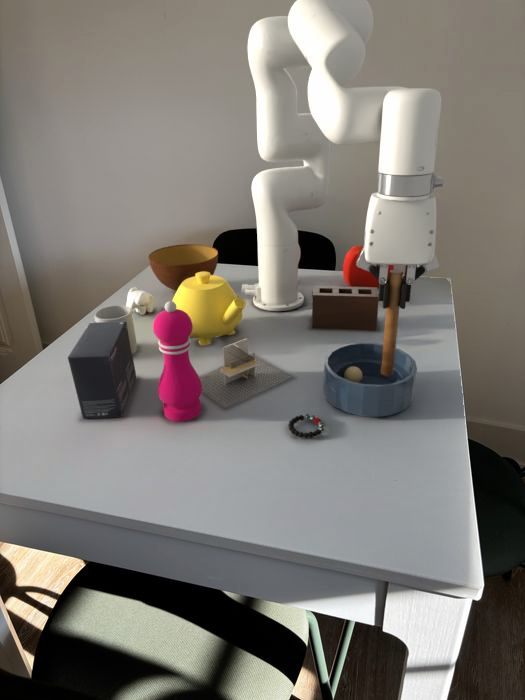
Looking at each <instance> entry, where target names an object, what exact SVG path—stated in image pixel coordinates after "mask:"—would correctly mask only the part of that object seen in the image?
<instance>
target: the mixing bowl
mask: <svg viewBox="0 0 525 700" xmlns="http://www.w3.org/2000/svg"><path fill="white" fill-rule="evenodd" d="M382 354H383V343H378V342H366V341H365V342H364V341H363V342H362V341H361V342H352V343H346V344H343V345H339V346H337V347H334V349H331V350H329V351H328V353H327V354H326V356H325V357H324V364H323V365H324V367H323V371H324V372H323V395H324V396H325V398H326V400H327V402H329V403H330V404H332V405H333V406H334V407H335V408H337V409H339V410H341V411H344V412H346V413H348V414H353V415H356V416H361V417H375V418H379V417H386V416H387V417H388V416H393V415H395V414H398V413H400V412H403V411H404V410H406V409H407V408H408V407H409V406H411V404H412V401H413V399H414V397H415V395H414V394H415V390H416V389H415V388H416V381H417V373H418V372H417V371H418V366H417V363H416V360H415V359H414V358H413V357H412V356H411V355H410V354H409V353H408V352H405V351H403V350H402V349H400V348H397V347H396V348H395V358H394V369H393V375H391V376H384V375H382V374H381V365H382ZM352 366H354V367H358V368H359V369H360V370H361V371H362V375H363V376H362V380H361V381H360V382H359V383H357V382H352V381H349V380H347V379H345V378H344V373H345V371H346V369H348V368H349V367H352Z"/></svg>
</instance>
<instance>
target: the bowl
mask: <svg viewBox="0 0 525 700" xmlns="http://www.w3.org/2000/svg"><path fill="white" fill-rule="evenodd" d="M148 262H149V265H150V269H151V271H152V272H153V274H154V276H155V277H156V278H157V280H158V281H159V283H161V284H162V285H163V286H165V287H166V288H168V289H170V290H173V291H174V292H175V293H176V292H177V290H178V288H179V286H180V285H181V283H182V282H183V281H184V280H186V279H188V278H190V277H194V276H196V275H195V274H196V273H198V272H204V271H205V272H209V273H210V275H214V274H215V272H216V269H217V266H218V262H219V252H218V250H217V249H216V248H215V247H213V246H209V245H206V244H198V243H197V244H195V243H187V244H176V245H169V246H164V247H161V248H158V249H155V250H153V251H152V252H151V253H150V254H148Z"/></svg>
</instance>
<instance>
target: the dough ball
mask: <svg viewBox="0 0 525 700" xmlns="http://www.w3.org/2000/svg"><path fill="white" fill-rule="evenodd" d="M362 376H363V375H362V371H361V370H360V369H359V368H358V367H354V366H352V367H349V368H348V369H346V371H345V373H344V378H345V379H347V380H349V381H352V382H357V383H359V382H360V381H361V380H362Z"/></svg>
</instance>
